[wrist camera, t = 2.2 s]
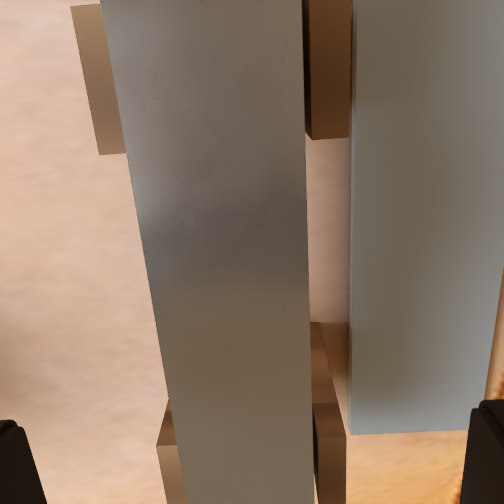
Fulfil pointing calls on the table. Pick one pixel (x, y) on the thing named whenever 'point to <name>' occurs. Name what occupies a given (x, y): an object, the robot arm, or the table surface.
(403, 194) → the grey board
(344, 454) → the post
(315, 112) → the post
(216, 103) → the rail
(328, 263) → the table surface
